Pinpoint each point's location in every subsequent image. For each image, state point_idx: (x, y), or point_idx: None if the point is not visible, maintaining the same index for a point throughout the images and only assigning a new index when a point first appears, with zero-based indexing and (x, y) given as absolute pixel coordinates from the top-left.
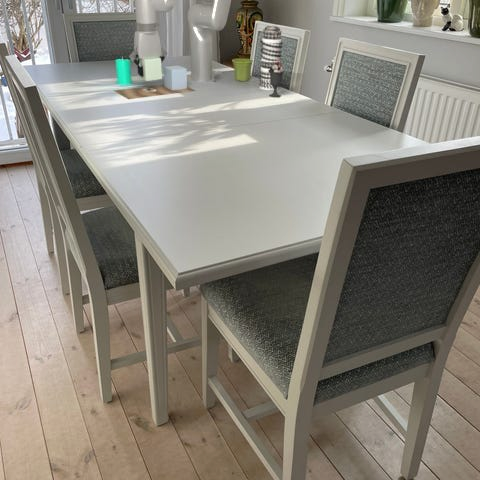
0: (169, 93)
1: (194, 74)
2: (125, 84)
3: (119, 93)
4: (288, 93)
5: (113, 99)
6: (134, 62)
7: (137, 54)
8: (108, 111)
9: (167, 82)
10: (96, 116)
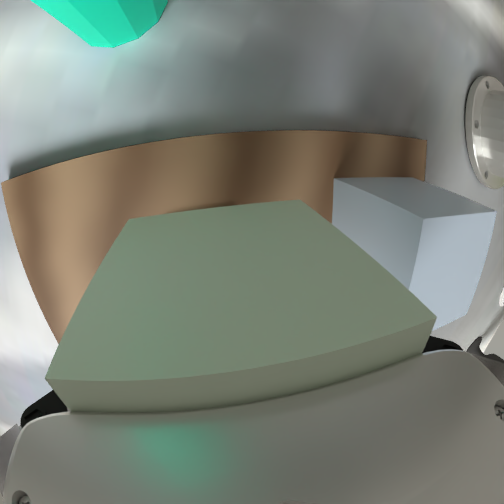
0: None
1: (500, 146)
2: (101, 41)
3: (24, 258)
4: (493, 331)
5: (12, 299)
6: (45, 408)
7: (53, 448)
8: (29, 403)
9: (349, 236)
10: (16, 416)
